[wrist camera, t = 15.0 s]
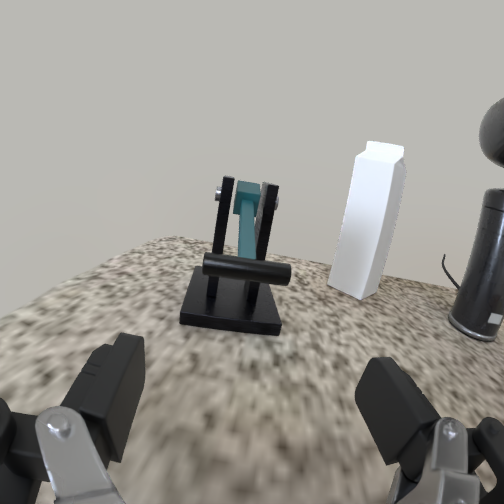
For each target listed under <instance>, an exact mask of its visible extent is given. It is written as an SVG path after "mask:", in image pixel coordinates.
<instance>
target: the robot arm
mask: <svg viewBox="0 0 504 504" xmlns="http://www.w3.org/2000/svg"><path fill="white" fill-rule="evenodd" d="M479 142H480V146H481V149H482V151H483V153H484V155H485V156H486V157H487V158H488V159H489V160H490V161H492V162H493V163H495V164H496V165H498V166H500V167H503V168H504V98H503V99H501V100H499V101H498V102H496V103H495V104H494V105H493V106H491V108H490V109H489V110H488V111H487V113H486V114H485V116H484V118H483V120H482V122H481V126H480V131H479ZM444 259H445V254H444V257H443V260H442V267H443V269H444V271H445V273H446V275H447V276H448V277H449V279H450V280H451V281H452V282H453V284H454V285H455V286H456V287H457V289H458V290H459V292H458V294H457V297H456V300H455V302H454V305H453V307H452V310H451V311H450V313H449V316H448V318H449V320H450V322H451V323H452V324H453V325H454V326H455V327H456V328H458V329H459V330H460V331H462V332H464V333H465V334H467V335H469V336H471V337H473V338H476V339H479V340H482V341H493V340H495V338H496V336H497V332H498V330H499V328H500V326H501V323H502V321H503V319H504V188H503V189H496V188H495V189H488V190H487V191H486V192H485V194H484V198H483V204H482V209H481V214H480V219H479V223H478V228H477V232H476V236H475V241H474V244H473V248H472V251H471V255H470V258H469V262H468V265H467V268H466V271H465V274H464V278H463V280H462V284H461V286H459V285H458V284H457V283H456V282H455V281H454V279H453V278H452V277H451V276H450V274H449V273H448V272H447V270H446V269H445V266H444ZM144 383H145V352H144V338H143V337H141V336H136V335H131V334H127V333H120V334H119V336H118V338H117V339H116V341H115V343H114V344H113V346H112V345H108V344H103V345H102V346H100V347H99V348H97V349H96V350H94V351H93V352H92V354H91V355H90V357H89V359H88V360H87V363H86V364H85V365H84V367H83V368H82V370H81V372H80V373H79V375H78V376H77V378H76V380H75V381H74V383H73V385H72V386H71V388H70V390H69V391H68V393H67V395H66V396H65V398H64V400H63V402H62V403H61V405H60V406H54V407H50V408H47V409H46V410H44V411H43V412H41V413H40V414H39V416H35V415H28V414H22V413H16V412H11V411H10V409H9V407H8V405H7V403H6V402H5V401H4V400H3V399H2V398H0V504H35V502H36V499H37V495H38V492H39V488H40V485H41V482H42V481H46V482H51V484H52V487H53V490H54V492H55V496H56V500H54V504H125V502H124V501H123V499H122V497H121V496H120V494H119V492H118V491H117V489H116V487H115V486H114V484H113V482H112V480H111V478H110V476H109V475H108V473H107V469H108V465H109V462H110V460H111V461H115V462H118V463H121V460H122V456H123V453H124V449H125V446H126V442H127V439H128V435H129V432H130V429H131V425H132V422H133V419H134V416H135V413H136V409H137V406H138V403H139V400H140V397H141V394H142V391H143V388H144ZM355 402H356V404H357V406H358V408H359V410H360V412H361V414H362V416H363V418H364V420H365V422H366V424H367V426H368V429H369V431H370V433H371V435H372V437H373V439H374V441H375V443H376V445H377V447H378V449H379V451H380V453H381V455H382V458H383V460H384V462H385V464H386V466H387V465H390V464H394V463H397V462H399V464H400V466H399V467H398V468H397V470H396V472H395V476H394V479H393V482H392V486H391V489H390V492H389V495H388V498H387V501H386V504H504V426H503V425H502V424H501V423H500V422H499V421H498V420H497V419H495V418H492V417H486V418H484V419H483V420H482V421H481V422H480V424H479V425H478V426H477V427H476V428H465V427H464V425H463V424H462V423H461V422H459V421H458V420H456V419H454V418H450V417H444V418H441V417H440V415H439V414H438V413H437V411H436V410H435V409H434V407H433V406H432V405H431V403H430V402H429V401H428V399H427V398H426V396H425V395H424V394H422V391H421V390H420V389H419V387H417V385H416V383H415V382H414V381H413V379H412V378H411V377H410V376H409V375H408V374H406V373H405V372H404V371H402V370H401V369H400V367H399V366H398V365H397V364H396V362H395V361H394V360H393V359H392V358H391V357H377V358H372V359H370V361H369V362H368V364H367V366H366V369H365V371H364V373H363V375H362V377H361V379H360V381H359V383H358V385H357V387H356V390H355ZM485 459H486V461H487V462H488V464H489V466H490V467H491V469H492V471H493V472H494V474H495V476H496V478H497V484H496V486H495V488H494V489H493V490H491V491H490V492H489V493H488V492H486V491H485V489H484V487H483V485H482V483H481V482H480V479H479V476H477V474H476V473H475V471H474V470H475V469H476V468H477V467H478V466H479V465H480V464H481V463H482V462H483V461H484V460H485Z"/></svg>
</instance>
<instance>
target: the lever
mask: <svg viewBox="0 0 504 504" xmlns="http://www.w3.org/2000/svg"><path fill="white" fill-rule="evenodd" d="M260 197H261V192H260V184H257V183H251V182H244V181H238V183H237V188H236V194H235V200H234V209H233V214H238V215H240V220H239V240H238V257H237V256H230V255H223V254H216V253H210V252H205V254H204V259H203V265H202V274H203V275H208V276H215V277H222V278H229V279H236V280H243V281H251V282H258V283H266V284H274V285H282V286H287V285H288V284H289V282H290V278H291V265H290V264H286V263H279V262H272V261H265V260H258V259H256V246H255V224H254V217H256V215H257V210H258V206H259V201H260Z"/></svg>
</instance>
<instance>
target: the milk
mask: <svg viewBox="0 0 504 504" xmlns="http://www.w3.org/2000/svg"><path fill="white" fill-rule="evenodd" d="M403 153H404V147H403V146H400V145H394V144H388V143H382V142H375V141H368V142H367V147H366V150H365V151H364V152H362V153H360V154H359V155H357V156H356V158H355V164H354V169H353V175H352V180H351V185H350V191H349V195H348V200H347V205H346V210H345V214H344V218H343V223H342V227H341V231H340V236H339V240H338V244H337V248H336V252H335V256H334V260H333V264H332V267H331V271H330V275H329V279H328V282H327V285H329V286H331V287H333V288H335V289H338V290H340V291H342V292H344V293H346V294H348V295H350V296H353V297H355V298H357V299H359V300H362V299H364V298H366V297H368V296H370V295H372V294H374V293H376V291H377V288H378V285H379V282H380V279H381V276H382V272H383V269H384V266H385V262H386V259H387V255H388V252H389V248H390V244H391V240H392V237H393V232H394V229H395V225H396V220H397V216H398V211H399V207H400V202H401V198H402V193H403V187H404V182H405V177H406V168H405V164H404V159H403Z"/></svg>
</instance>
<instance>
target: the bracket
mask: <svg viewBox="0 0 504 504" xmlns="http://www.w3.org/2000/svg"><path fill="white" fill-rule="evenodd" d="M234 180H235V179H234V177H231V176H224V177H223V183H222V187H217V190H216V195H215V201H219V207H218V214H217V221H216V227H215V234H214V241H213V248H212V253H216V254H223V248H224V241H225V235H226V228H227V222H228V215H229V209H230V203H231V197H232V191H233V185H234ZM278 189H279V186H278V185H275V184H272V183H266V182H263V184H262V190H261V197H260V201H259V206H258V211H257V217H256V222H255V246H256V259H258V260H265V257H266V252H267V246H268V242H269V236H270V231H271V225H272V221H273V216H274V210H276V209H277V207H278V201H279V198H278V196H277V194H278ZM179 323H180V324H184V325H191V326H197V327H204V328H212V329H219V330H227V331H235V332H244V333H253V334H263V335H274V336H279V334H280V330H281V326H282V323H281V320H280V317H279V314H278V311H277V308H276V305H275V302H274V298H273V295H272V292H271V289H270V286H269V284H266V283H258V282H251V281H243V280H236V279H229V278H222V277H215V276H208V275H203V274H202V266H195V269H194V272H193V275H192V278H191V281H190V284H189V286H188V289H187V292H186V295H185V298H184V302H183V305H182V308H181V311H180V321H179Z"/></svg>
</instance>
